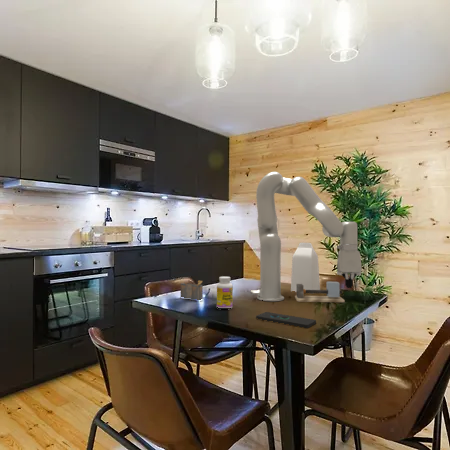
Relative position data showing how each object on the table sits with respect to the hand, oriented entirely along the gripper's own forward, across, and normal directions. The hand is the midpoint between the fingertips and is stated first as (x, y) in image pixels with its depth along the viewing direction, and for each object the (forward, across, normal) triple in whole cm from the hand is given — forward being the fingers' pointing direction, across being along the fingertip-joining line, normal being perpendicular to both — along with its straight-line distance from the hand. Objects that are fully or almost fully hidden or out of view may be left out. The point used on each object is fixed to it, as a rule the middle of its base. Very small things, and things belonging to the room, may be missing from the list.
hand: (348, 287), depth 156 cm
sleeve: (+4, -7, 0) cm, 8 cm away
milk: (+6, -16, +24) cm, 30 cm away
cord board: (+6, -14, 0) cm, 15 cm away
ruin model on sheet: (+7, -73, -5) cm, 74 cm away
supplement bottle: (+6, -56, -21) cm, 60 cm away
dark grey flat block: (+7, -33, -39) cm, 51 cm away
